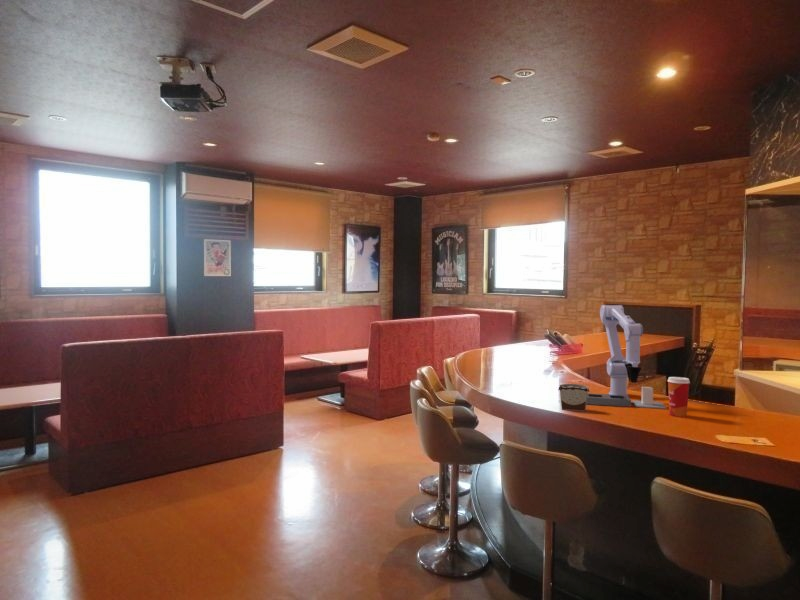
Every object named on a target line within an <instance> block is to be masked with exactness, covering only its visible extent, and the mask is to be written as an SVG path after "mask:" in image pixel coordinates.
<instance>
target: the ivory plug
mask: <svg viewBox="0 0 800 600" xmlns="http://www.w3.org/2000/svg"><path fill="white" fill-rule="evenodd" d="M640 396H641V400H640V401H641V403H642V404H644V405H653V402H654V388H653V387H651V386H641V395H640Z"/></svg>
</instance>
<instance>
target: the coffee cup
mask: <svg viewBox="0 0 800 600" xmlns="http://www.w3.org/2000/svg"><path fill="white" fill-rule="evenodd" d="M666 381H667V382H668V383H667V386H668V387H667V389H668V390H667V391H668V409H669V410H668V411H669V416H672V417H675V418H686V417H687V415H688V413H687V412H688V405H689V404H688V403H689V390H690V384H691V381H690V379H689V378H688V377H682V376H669V377H668V379H667V380H666Z"/></svg>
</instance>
